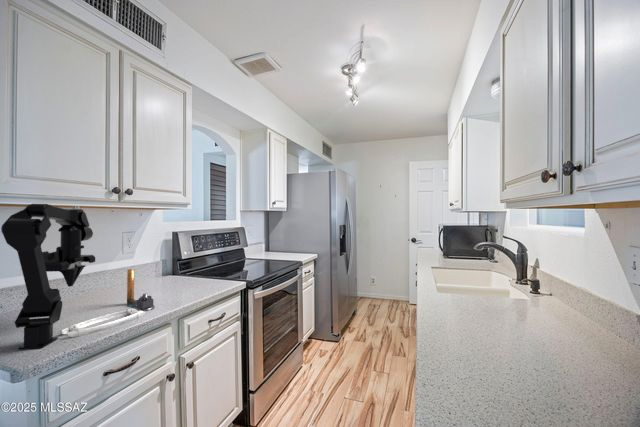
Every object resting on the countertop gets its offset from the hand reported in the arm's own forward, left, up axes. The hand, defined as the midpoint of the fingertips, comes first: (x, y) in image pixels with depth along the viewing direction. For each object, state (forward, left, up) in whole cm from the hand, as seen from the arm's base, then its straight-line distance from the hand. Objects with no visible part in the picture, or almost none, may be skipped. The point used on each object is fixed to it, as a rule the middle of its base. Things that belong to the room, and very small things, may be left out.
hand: (70, 286), depth 105 cm
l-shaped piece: (+16, -16, -13) cm, 26 cm away
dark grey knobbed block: (+13, -20, -13) cm, 27 cm away
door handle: (-3, -14, -14) cm, 20 cm away
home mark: (+18, -13, -13) cm, 26 cm away
